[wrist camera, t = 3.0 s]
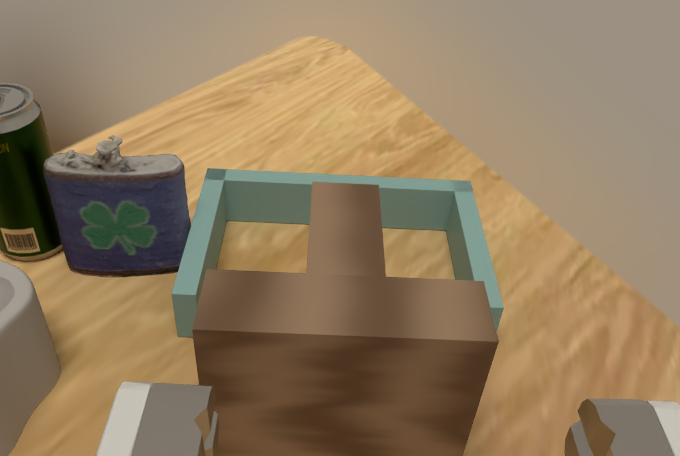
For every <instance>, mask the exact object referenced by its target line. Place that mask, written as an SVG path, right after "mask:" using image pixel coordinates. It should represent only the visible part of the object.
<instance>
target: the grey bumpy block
mask: <svg viewBox="0 0 680 456" xmlns="http://www.w3.org/2000/svg"><path fill="white" fill-rule="evenodd" d="M60 373H61V366H60V362H59V359H58V356H57V353H56V350H55V347H54V344H53V341H52V338H51V335H50V333H49V330H48V327H47V324H46V321H45V318H44V315H43V312H42V309H41V306H40V303H39V300H38V297H37V294H36V291H35V288H34V286H33V283H32V282H31V280H30V278H29V277H28V276H27V274H26V273H24V272H23V271H22V270H21V269H19V268H18V267H16V266H14V265H12V264H10V263H7V262H3V261H0V456H8V455H9V454H10V452H11V451H12V450H13V448H14V446H15V445H16V443H17V441H18V439H19V437H20V435H21V433H22V431H23V429H24V426H25V424H26V422H27V421H28V419H29V417H30V416H31V414H32V413H33V411H34V410H35V409H36V408H37V406H38V405H39V404H40V403H41V402H42V401H43V400H44V398H45V397H46V396H47V395H48V394H49V393H50V391H51V390H52V389H53V388H54V386H55V385H56V383H57V381H58V379H59V377H60Z"/></svg>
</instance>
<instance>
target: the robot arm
mask: <svg viewBox="0 0 680 456" xmlns="http://www.w3.org/2000/svg"><path fill="white" fill-rule="evenodd" d="M215 402H216V394H215V387H214V386H202V385H184V384H165V383H150V382H123V383H122V384H121V386H120V387H119V389H118V390H117V393H116V396H115V399H114V402H113V405H112V408H111V411H110V414H109V417H108V420H107V423H106V426H105V429H104V432H103V435H102V438H101V441H100V445H99V448H98V451H97V454H96V456H217V448H218V437H219V421H218V414H217V413H216V412H215V411H214V408H215ZM578 413H579V416H580V419H581V420H580V421H578V422H577V423H575V424H573V425H572V426H570V428H569V431H568V433H567V436H566V439H565V456H680V405H679V404H678V403H677V402H672V401H644V400H634V399H586V400H585V401H583V402H582V403H581V405H580V407H579V409H578Z"/></svg>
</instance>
